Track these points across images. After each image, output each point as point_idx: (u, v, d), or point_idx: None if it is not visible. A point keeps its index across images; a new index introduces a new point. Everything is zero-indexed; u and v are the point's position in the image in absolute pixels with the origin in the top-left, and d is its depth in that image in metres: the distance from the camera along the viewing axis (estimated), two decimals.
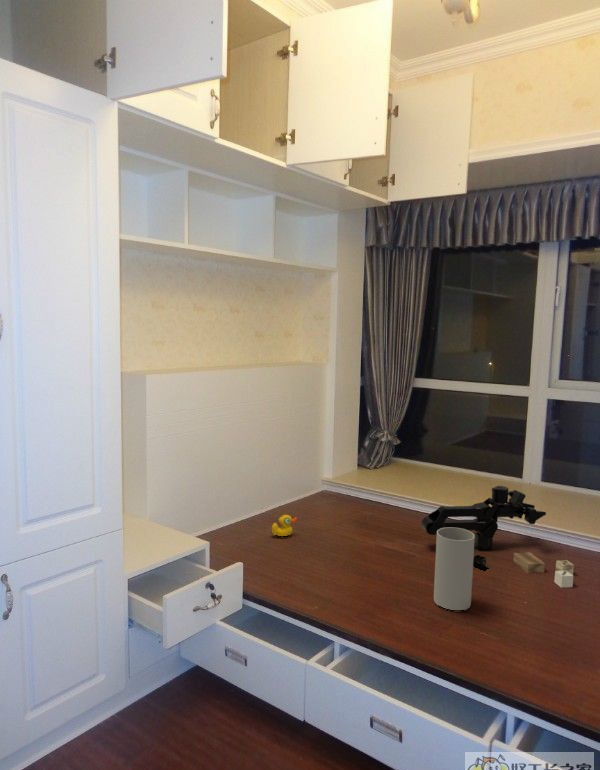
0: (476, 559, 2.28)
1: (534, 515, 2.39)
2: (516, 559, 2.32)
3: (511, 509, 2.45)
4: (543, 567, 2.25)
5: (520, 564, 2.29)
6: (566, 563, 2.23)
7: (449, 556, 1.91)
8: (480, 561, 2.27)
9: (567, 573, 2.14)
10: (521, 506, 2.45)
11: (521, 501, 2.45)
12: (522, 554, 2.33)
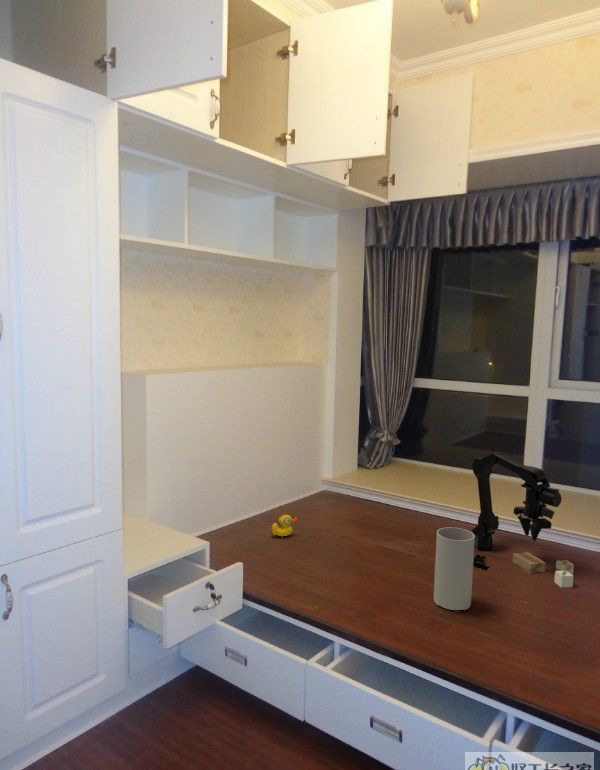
0: (477, 559, 2.28)
1: (547, 526, 2.19)
2: (516, 559, 2.32)
3: (539, 504, 2.25)
4: (544, 566, 2.25)
5: (521, 564, 2.29)
6: (566, 563, 2.23)
7: (449, 556, 1.91)
8: (481, 561, 2.27)
9: (567, 573, 2.14)
10: (542, 515, 2.25)
11: (546, 514, 2.26)
12: (521, 554, 2.33)
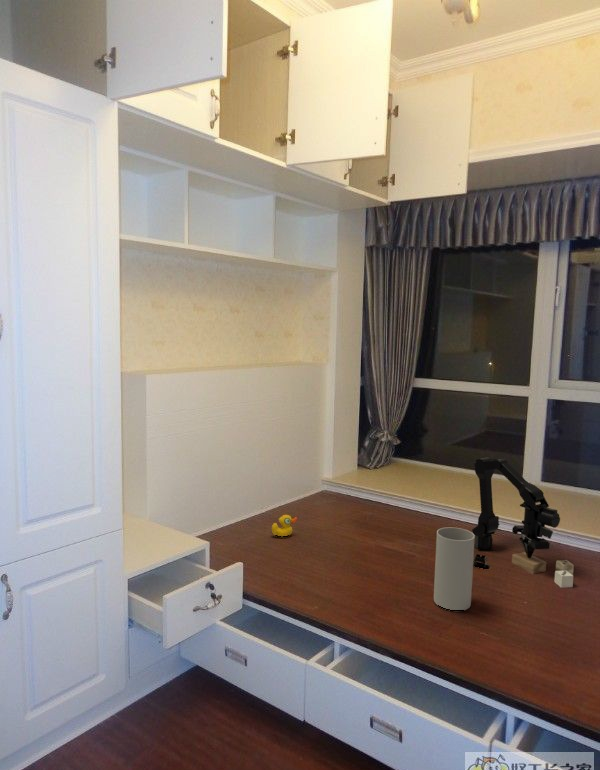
0: (478, 559, 2.29)
1: (545, 547, 2.19)
2: (516, 560, 2.31)
3: (538, 524, 2.25)
4: (545, 566, 2.26)
5: (522, 565, 2.28)
6: (566, 563, 2.23)
7: (449, 556, 1.91)
8: (482, 560, 2.28)
9: (567, 573, 2.14)
10: (540, 535, 2.26)
11: (545, 534, 2.27)
12: (520, 555, 2.32)
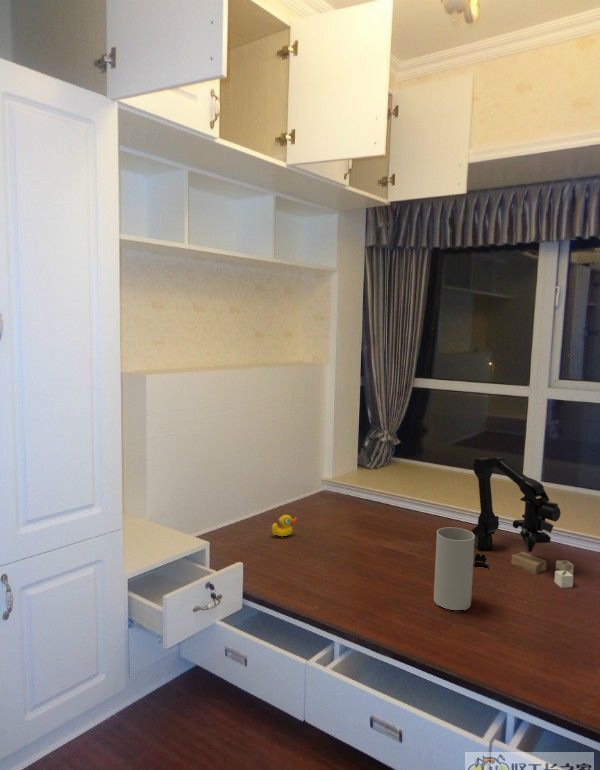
0: (478, 558, 2.29)
1: (546, 540, 2.19)
2: (516, 561, 2.30)
3: (538, 518, 2.25)
4: (545, 565, 2.27)
5: (523, 566, 2.28)
6: (566, 563, 2.23)
7: (449, 556, 1.91)
8: (483, 560, 2.28)
9: (567, 573, 2.14)
10: (541, 529, 2.25)
11: (545, 528, 2.26)
12: (520, 555, 2.32)
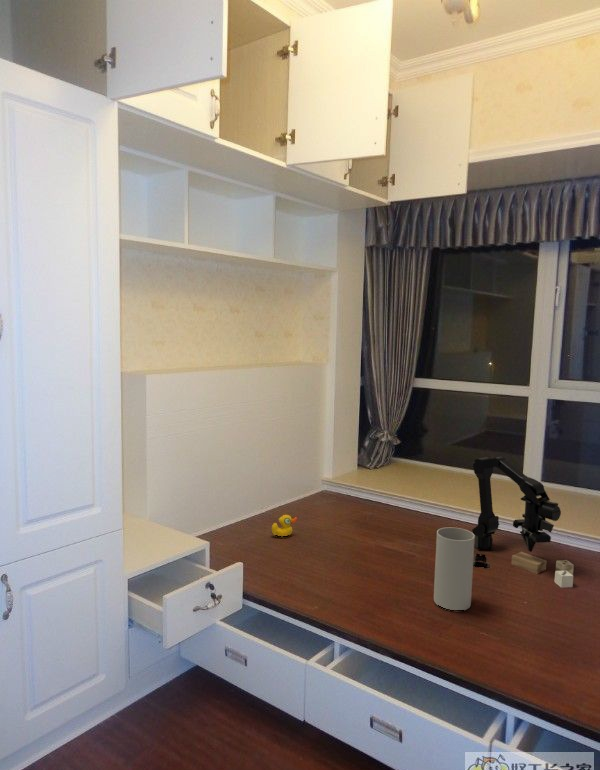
0: (479, 558, 2.29)
1: (546, 540, 2.19)
2: (516, 561, 2.30)
3: (538, 517, 2.25)
4: (545, 564, 2.27)
5: (523, 566, 2.28)
6: (566, 563, 2.23)
7: (449, 556, 1.91)
8: (483, 559, 2.29)
9: (567, 573, 2.14)
10: (541, 528, 2.25)
11: (545, 528, 2.26)
12: (520, 555, 2.32)
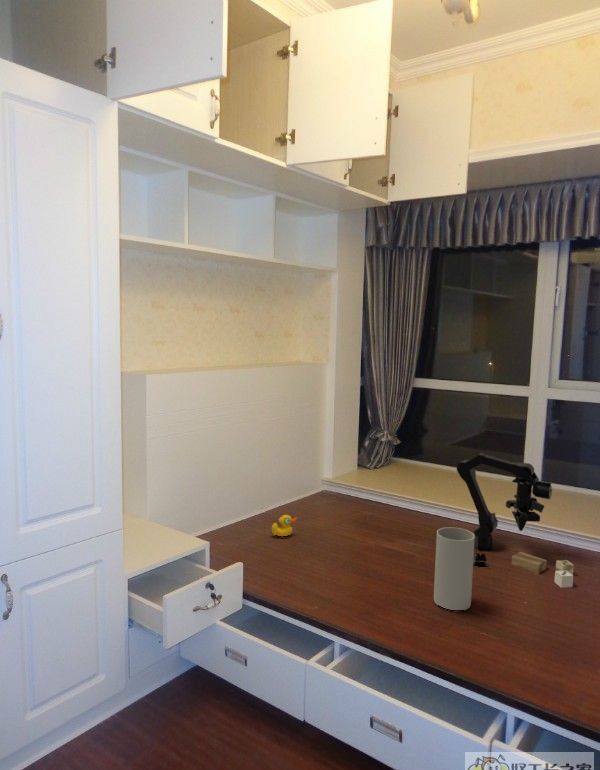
0: (479, 558, 2.29)
1: (535, 519, 2.28)
2: (516, 562, 2.30)
3: (529, 498, 2.34)
4: (545, 564, 2.28)
5: (524, 566, 2.27)
6: (566, 563, 2.23)
7: (449, 556, 1.91)
8: (484, 559, 2.29)
9: (567, 573, 2.14)
10: (532, 508, 2.35)
11: (536, 508, 2.35)
12: (519, 556, 2.31)
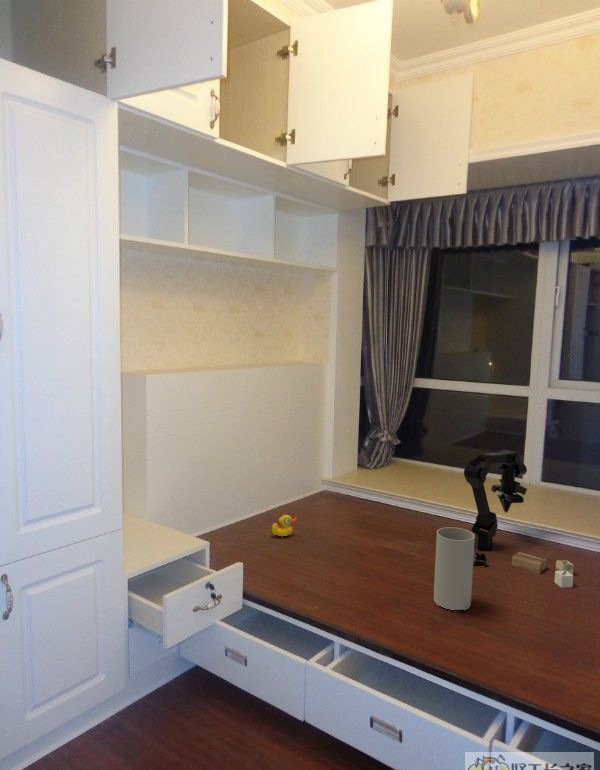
0: (479, 558, 2.30)
1: (519, 501, 2.47)
2: (517, 562, 2.29)
3: (513, 482, 2.53)
4: (545, 563, 2.28)
5: (525, 566, 2.27)
6: (566, 563, 2.23)
7: (449, 556, 1.91)
8: (484, 559, 2.30)
9: (567, 573, 2.14)
10: (516, 491, 2.53)
11: (519, 491, 2.54)
12: (519, 556, 2.31)
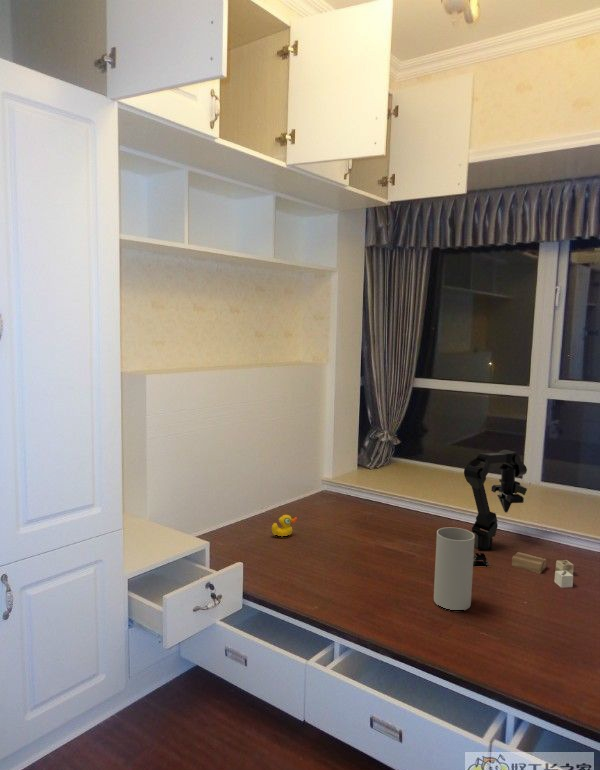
0: (479, 558, 2.30)
1: (519, 501, 2.47)
2: (517, 562, 2.29)
3: (513, 482, 2.53)
4: (545, 563, 2.28)
5: (525, 566, 2.27)
6: (566, 563, 2.23)
7: (449, 556, 1.91)
8: (484, 558, 2.30)
9: (567, 573, 2.14)
10: (516, 491, 2.53)
11: (519, 491, 2.54)
12: (519, 556, 2.31)
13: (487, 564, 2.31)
